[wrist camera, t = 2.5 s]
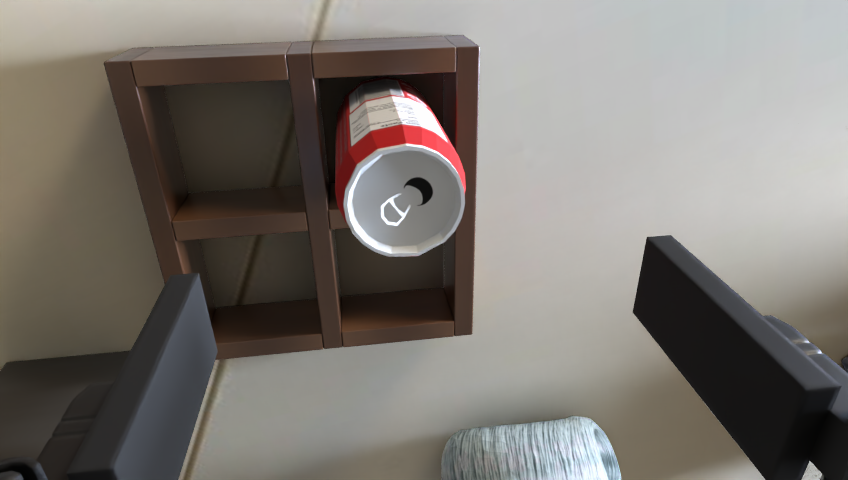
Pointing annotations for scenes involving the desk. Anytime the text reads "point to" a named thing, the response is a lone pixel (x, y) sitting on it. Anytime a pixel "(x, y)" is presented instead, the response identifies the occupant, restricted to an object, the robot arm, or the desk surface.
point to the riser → (45, 396)
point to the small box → (845, 364)
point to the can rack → (296, 187)
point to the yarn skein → (531, 452)
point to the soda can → (396, 170)
